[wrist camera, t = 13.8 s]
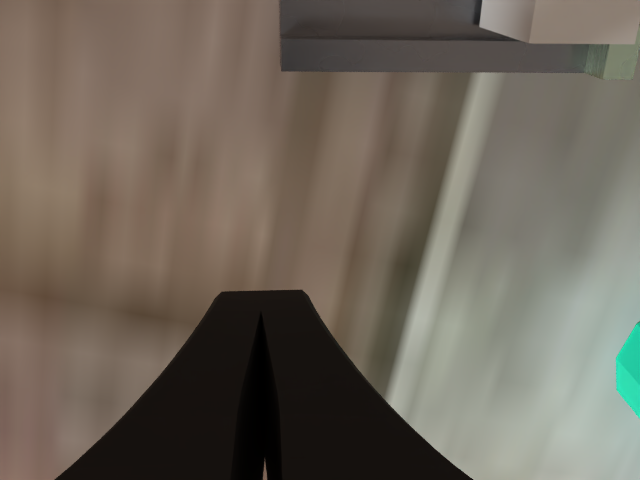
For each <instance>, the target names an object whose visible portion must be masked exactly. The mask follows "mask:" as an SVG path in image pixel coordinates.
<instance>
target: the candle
mask: <svg viewBox="0 0 640 480" xmlns="http://www.w3.org/2000/svg"><path fill="white" fill-rule="evenodd" d="M616 383H617V391H618V392H619V394H620V395H621V396H622V397H623V399H624V400H625V401H626V402H627V403H628V405H629V406H630V407H631V408H632V410H633V411H634V412H635V413H636V415H637V416H638V417H639V418H640V322H639V323H637V324H636V326H635V328H634V329H633V331H632V333H631V334H630V336H629V338H628V339H627V341H626V343H625V344H624V346H623V348H622V349H621V351H620V353H619V354H618V356H617V358H616Z"/></svg>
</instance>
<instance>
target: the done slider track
mask: <svg viewBox="0 0 640 480" xmlns="http://www.w3.org/2000/svg"><path fill="white" fill-rule="evenodd" d="M481 8H482V0H280V65H281V71H322V72H523V73H586V74H589V75H591V76H594V77H597V78H600V79H602V80H632V79H633V75H634V70H635V66H636V62H637V57H638V53H639V49H640V23H639V27H638V32H637V36H636V41H635V44H535V43H526V42H523V41H520V40H517V39H514V38H511V37H508V36H505V35H502V34H499V33H496V32H493V31H490V30H487V29H484V28H481V27H479V25H480V16H481Z"/></svg>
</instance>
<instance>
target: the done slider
mask: <svg viewBox="0 0 640 480" xmlns="http://www.w3.org/2000/svg"><path fill="white" fill-rule="evenodd" d="M639 23H640V0H482V8H481V16H480V25H479V27H481V28H484V29H487V30H490V31H493V32H496V33H499V34H502V35H505V36H508V37H511V38H514V39H517V40H520V41H523V42H526V43H535V44H635V41H636V36H637V32H638V27H639Z"/></svg>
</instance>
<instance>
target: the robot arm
mask: <svg viewBox="0 0 640 480" xmlns="http://www.w3.org/2000/svg"><path fill="white" fill-rule="evenodd" d="M264 461H265V462H266V471H267V480H473V479H472V478H470V477H469V476H468V475H466V474H465V473H464V472H462V471H461V470H460V469H458V468H457V467H456V466H455V465H453V464H452V463H451V462H450V461H449V460H447V459H446V458H445V457H444V456H443V455H441V454H440V453H439V452H438V451H437V450H436V449H434V448H433V447H432V446H431V445H430V444H429V443H428V442H427V441H426V440H425V439H424V438H422V437H421V436H420V435H419V434H418V433H417V432H416V431H415V430H414V429H413V428H412V427H411V426H410V425H409V424H408V423H407V422H406V421H405V420H404V419H403V418H401V417H400V415H399V414H398V413H397V412H396V411H395V410H394V409H393V408H392V407H391V406H390V405H389V404H388V403H387V402H386V401H385V400H384V399H383V398H382V396H381V395H380V394H379V393H378V392H377V391H376V390H375V389H374V388H373V386H372V385H371V384H370V383H369V382H368V381H367V380H366V378H365V377H364V376H363V375H362V374H361V372H360V371H359V370H358V369H357V368H356V366H355V365H354V364H353V362H352V361H351V360H350V359H349V357H348V356H347V355H346V353H345V352H344V351H343V349H342V348H341V347H340V346H339V344H338V343H337V341H336V340H335V339H334V337H333V336H332V334H331V333H330V331H329V330H328V328H327V327H326V325H325V324H324V322H323V321H322V319H321V318H320V316H319V315H318V313H317V311H316V309H315V308H314V306H313V304H312V302H311V300H310V298H309V296H308V295H307V294H306V293H305V292H304V291H303V290H270V291H229V292H221V293H220V294H219V295H218V296H217V297H216V298H215V299H214V301H213V303H212V304H211V306H210V308H209V309H208V311H207V312H206V314H205V315H204V317H203V319H202V320H201V322H200V323H199V324H198V326H197V327H196V329H195V330H194V332H193V333H192V334H191V336H190V337H189V339H188V340H187V341H186V343H185V344H184V345H183V346H182V348H181V349H180V350H179V352H178V353H177V354H176V356H175V357H174V358H173V359H172V361H171V362H170V363H169V365H168V366H167V367H166V368H165V370H164V371H163V372H162V373H161V374H160V376H159V377H158V378H157V379H156V380H155V381H154V382H153V384H152V385H151V386H150V387H149V388H148V389H147V390H146V391H145V393H144V394H143V395H142V396H141V397H140V398H139V399H138V400H137V402H136V403H135V404H134V405H133V406H132V407H131V408H130V409H129V410H128V411H127V413H126V414H125V415H124V416H123V417H122V418H121V419H120V420H119V421H118V422H117V423H116V424H115V425H114V426H113V427H112V428H111V429H110V430H109V431H108V432H107V433H106V434H105V435H104V436H103V437H102V438H101V439H100V440H99V441H97V442H96V443H95V444H94V445H93V446H92V447H91V448H90V449H89V450H88V451H87V452H86V453H85V454H84V455H82V456H81V457H80V458H79V459H78V460H77V461H76V462H75V463H74V464H73V465H71V466H70V467H69V468H68V469H67V470H66V471H64V472H63V473H62V474H61V475H60V476H58V477H57V478H56V479H55V480H263V471H264Z"/></svg>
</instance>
